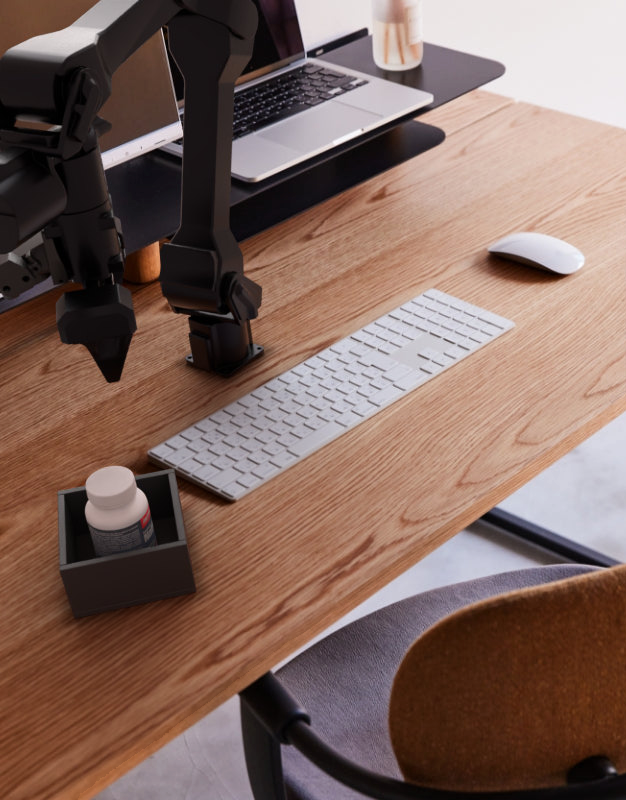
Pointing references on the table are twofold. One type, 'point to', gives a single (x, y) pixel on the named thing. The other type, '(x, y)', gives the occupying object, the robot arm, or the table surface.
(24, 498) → the table surface
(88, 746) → the table surface
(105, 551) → the pill bottle
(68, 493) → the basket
